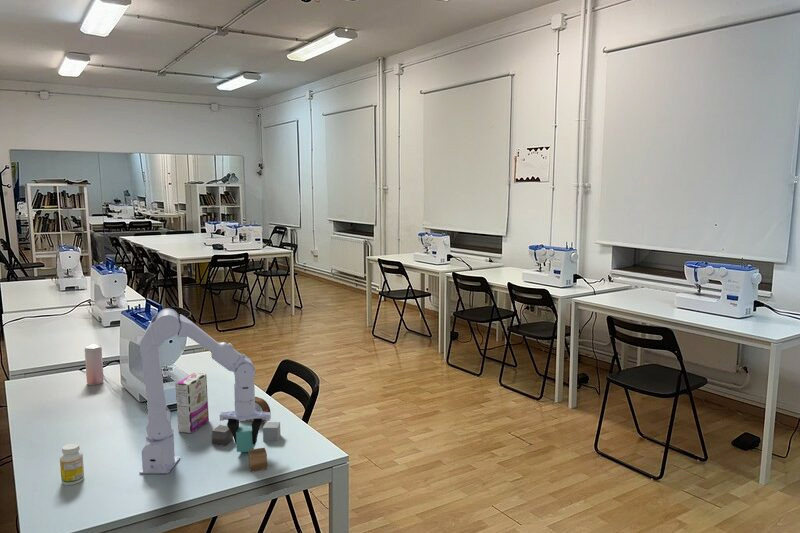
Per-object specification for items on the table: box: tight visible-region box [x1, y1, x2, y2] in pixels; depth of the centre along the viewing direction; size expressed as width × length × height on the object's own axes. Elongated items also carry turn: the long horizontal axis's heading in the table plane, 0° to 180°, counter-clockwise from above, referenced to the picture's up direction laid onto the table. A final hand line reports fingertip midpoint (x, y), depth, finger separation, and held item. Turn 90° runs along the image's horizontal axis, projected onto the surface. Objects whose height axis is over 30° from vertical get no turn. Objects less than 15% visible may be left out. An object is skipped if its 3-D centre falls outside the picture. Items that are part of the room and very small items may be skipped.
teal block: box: [235, 425, 257, 453], centre depth 175 cm, size 4×4×6 cm
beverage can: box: [84, 344, 105, 386], centre depth 234 cm, size 6×6×15 cm
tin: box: [247, 396, 271, 425], centre depth 198 cm, size 15×3×8 cm, turn 57°
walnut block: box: [248, 447, 268, 473], centre depth 166 cm, size 4×4×4 cm
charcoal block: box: [211, 424, 234, 447], centre depth 182 cm, size 4×4×4 cm
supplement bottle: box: [59, 442, 85, 486], centre depth 157 cm, size 5×5×10 cm
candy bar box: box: [175, 372, 210, 434], centre depth 193 cm, size 11×5×16 cm, turn 168°
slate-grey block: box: [262, 421, 281, 442], centre depth 185 cm, size 4×4×4 cm
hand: (246, 443), depth 175 cm, fingers closed on teal block, 4 cm apart
